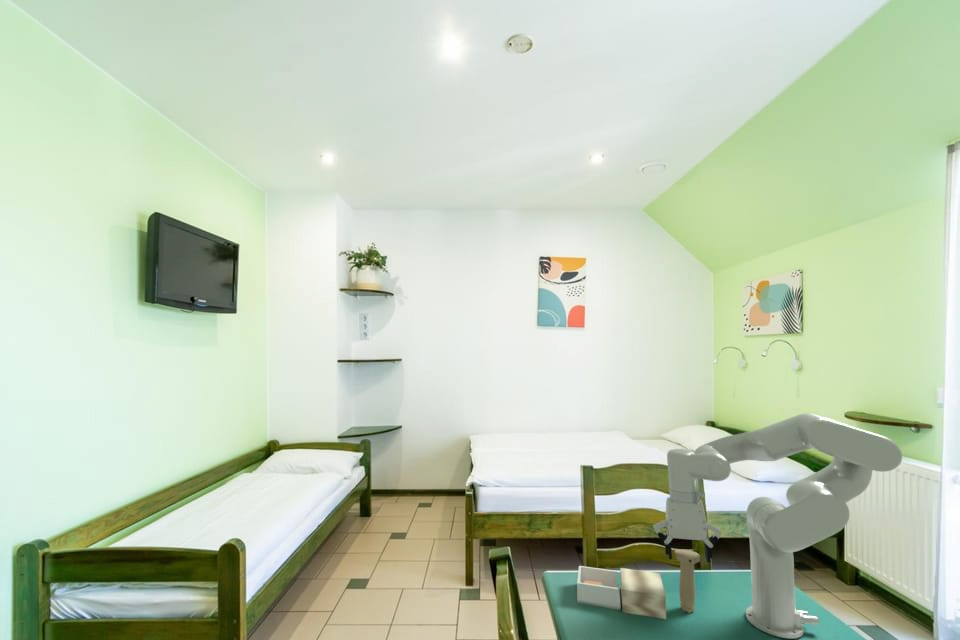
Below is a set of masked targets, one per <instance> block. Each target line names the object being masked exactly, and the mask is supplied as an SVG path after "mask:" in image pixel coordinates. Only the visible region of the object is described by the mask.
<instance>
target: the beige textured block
mask: <svg viewBox="0 0 960 640" xmlns="http://www.w3.org/2000/svg"><path fill="white" fill-rule="evenodd" d="M619 571H620V573H619V574H620V600H621V608H622V609H621V610H622V613H625V614H626V613H627V614H631V615H638V616H645V617H650V618H656V619H657V618H658V619H661V620H662V619H663V620H666V619H667V603H666V598H667V597H666V593H665V588H664V585H663V580H662V577H661V573H659V572H653V571H652V572H651V571H647V570H638V569H631V568H623V567H620V570H619Z"/></svg>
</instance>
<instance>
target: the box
mask: <svg viewBox="0 0 960 640" xmlns="http://www.w3.org/2000/svg"><path fill="white" fill-rule="evenodd" d="M617 572H618V571H617V570H612V569H606V568H598V567H591V566H583V565H579V566H578V571H577V581H576V597H577V598H576V600H577V601H576V603H577V604H582V605H589V606H595V607H600V608H601V607H602V608H606V609H613V610H620V611H621V591H620V584H618V573H617ZM584 580H586V581H594V582H601V583H602V586H601V585H594V584H587V583H584Z"/></svg>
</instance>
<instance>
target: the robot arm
mask: <svg viewBox="0 0 960 640" xmlns="http://www.w3.org/2000/svg"><path fill="white" fill-rule="evenodd" d="M811 449H814V450H816V451H817V452H820V453H822V454H825V455H828V456H831V457H832V458H833V459H832V461H831V462H830V463H829V464H828V465H827V466H825V467H823V468H822V469H820V470H819V471H816V472H815V473H814V472H813V473H812V474H810V475H808V476H807V477H804V478H803V479H800V480H797V481H796V482H794V483H793V484H791V485H790V486H789V487H787V488H788V489H786V493H785V494H786V495H785V496H786V499H787V502H788V504H789V505H788V506H787V507H786V506H784V504H782V503H781V502H780V501H778V500H776V499H774V498H771V497H767V496H760V497H756V498H754V499H752V500H751V501H750V502H749V504H748V505H747V508H746V523H747V530H748V536H749V537H748V538H749V551H750V554H749V555H750V557H749V558H750V581H751V582H750V583H751V584H750V585H751V605H750V606H748V607H746V608H745V617H746V619H747V620H748V621H749V623H750V624H751V625H752V626H754V627H755V628H757V630H760V631H762V632H764V633H766V634H769V635H771V636H774V637H777V638H783V639H790V640H791V639H798V638H801V637H802V636H803V635H805V634H804V633H805V628H804V627H805V626H804V625H805V624H808V625H813V626H819V625H820V622H819V621H820V620H819V618H818V617H817V616H815V615H810V614H809V612H808V611H807V610H799V609H797V608H796V589H795V562H794V561H795V560H794V553H795V552H799V551H801V550H804V549H806V548H809V547H811V546H813V545H815V544H816V543H817V544H818V543H820V542H821V541H824V540H825V539H827V538H829V537H832V536H833V535H836V534H837V533H839V532H841V531H842V530H843V529H844V528H845V527H846V526H847V524H848V523H849V519H850V509H849V507H848V504H847V503H848V502H849V501H852V500H853V499H854V498H857V497H858V496H860V495H861V494H862V493H864V492H865V491H866V489H867V488H868V487H869V485H870V482H871V479H872V476H873V472H889V471H890V472H891V471H893V470H895V469H896V468H898V467H899V466H900V465H901V463H902V462H903V461H902V460H903V454H902V450H901V449H900V446H898V444H897V443H896V442H894V441H893V440H892V439H890V438H889V437H886V436H883V435H880V434H877V433H873V432H871V431H868V430H864V429H862V428H861V429H860V428H856V427H854V426H851V425H848V424H846V423H842V422H839V421H836V420H835V419H831V418H829V417H825V416H822V415H818V414H815V413H809V412H808V413H807V412H806V413H802V414H797V415H795V416H791V417H788V418H785V419H783V420H780V421H777V422H776V423H772V424H769V425H767V426H763V427H762V428H757V429H756V430H752V431H746V432H741V433H737V434H733V435H728V436H724V437H720V438H718V439H715V440H713V441H709V442H706V443H704V444H702V445H700V446H698V447H697V448H696V449H695V450H694V451H693V450H689V449H684V448H674V449H670V450H668V452H667V453H666V460H667V461H666V462H667V474H668V491H669V496H668V497H667V498H666V502H665V519H663V520H660V521H659V522H656V523H654V524H652V527H653V529H654V531H655V533H656V534H657V537H658V538H659V539H661V541H662V542H663V543H664V551H665V552H664V553H665V555H667V556H668V557H667V558H668V560H673V554H672V553H673V552H672V544H671V542H672V540H673V539H679V540H680V539H681V540H691V541H692V540H693V541H694V540H695V541H703V542H704V544H703V547H704V548H703V549H704V558H705V560H706V562H707V563H709V564H710V563H711V559H713V549H712V548H714V546H715V544H717V543H718V541H719V539H720V537H721V535H722V532H723V531H722V530H721V529H720V528H719V527H717V526H715V525H713V524H711V523H709V522H707V518H706V512H705V507H704V505H703V500H701V499H702V498H705V497H706V494H705V491H700V490H699V487H700V486H699V480H704V481H705V480H706V481H711V482H722V481H725V480H726V479H728V478H729V477H730V475H731V471H732V467H731V464H734V463H739V462H744V461H757V462H775V461H778V460H781V459H784V458H787V457H789V456H793V455H796V454H799V453H801V452H804V451H807V450H811ZM662 528H666V531H667V532H666V533H665V534H664V533H663V532H662V531H661V529H662ZM708 530H709V531H711V532H713V534H712V535H711V536H710V537H708V536H709V535H708V534H709V533H708Z"/></svg>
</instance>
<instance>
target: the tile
mask: <svg viewBox="0 0 960 640" xmlns="http://www.w3.org/2000/svg"><path fill="white" fill-rule="evenodd" d="M584 583H587V584H594V585H601V586H602V583H601V582H594V581H586V580H584Z"/></svg>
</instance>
